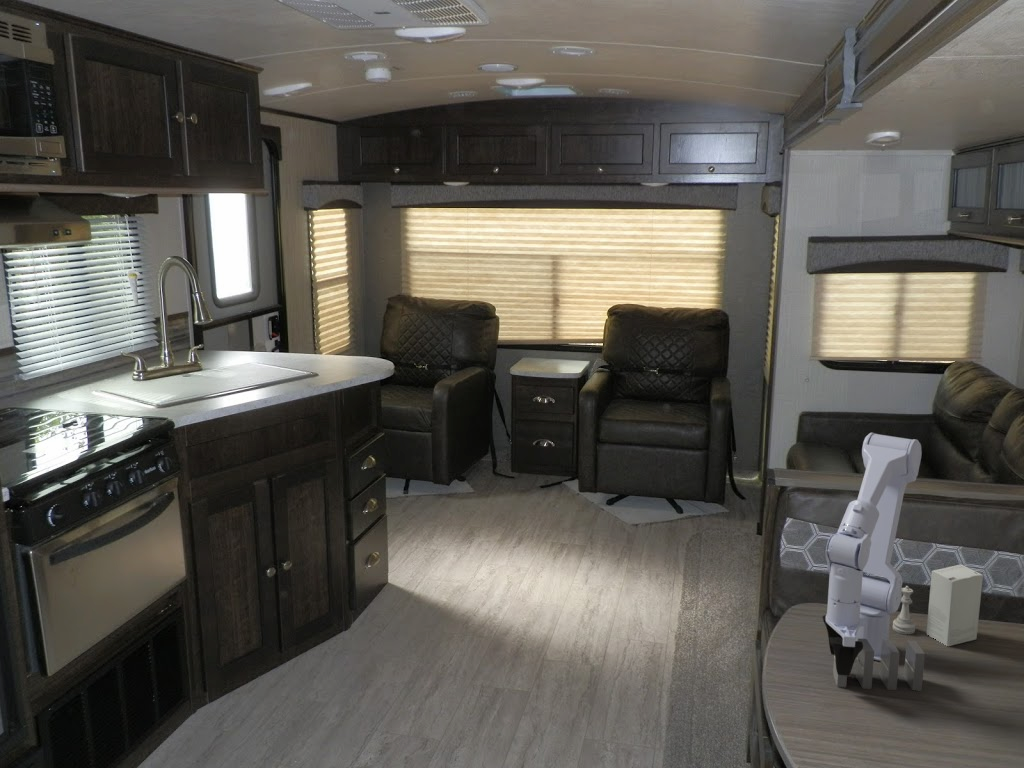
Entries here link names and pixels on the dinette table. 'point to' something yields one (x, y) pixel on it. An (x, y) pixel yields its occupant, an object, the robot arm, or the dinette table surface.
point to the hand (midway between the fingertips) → (839, 664)
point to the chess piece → (904, 615)
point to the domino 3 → (889, 664)
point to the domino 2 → (865, 665)
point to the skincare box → (954, 605)
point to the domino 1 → (839, 677)
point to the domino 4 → (914, 665)
